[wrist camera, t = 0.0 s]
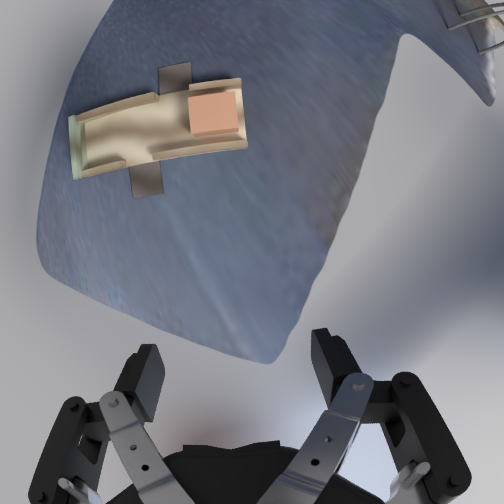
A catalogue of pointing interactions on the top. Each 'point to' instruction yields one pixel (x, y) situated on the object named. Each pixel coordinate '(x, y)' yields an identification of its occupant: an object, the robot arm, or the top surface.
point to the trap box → (149, 131)
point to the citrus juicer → (479, 19)
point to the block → (213, 114)
